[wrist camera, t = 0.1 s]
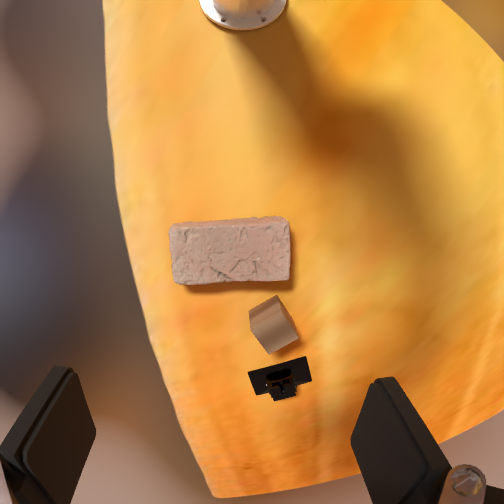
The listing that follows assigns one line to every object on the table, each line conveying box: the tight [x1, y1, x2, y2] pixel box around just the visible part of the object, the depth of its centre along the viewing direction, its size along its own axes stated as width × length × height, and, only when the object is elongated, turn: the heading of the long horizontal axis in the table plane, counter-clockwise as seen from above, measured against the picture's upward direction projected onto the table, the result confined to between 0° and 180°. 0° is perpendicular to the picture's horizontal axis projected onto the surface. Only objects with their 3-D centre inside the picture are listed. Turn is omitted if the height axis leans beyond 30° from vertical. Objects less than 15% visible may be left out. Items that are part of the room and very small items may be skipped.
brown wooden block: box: [249, 295, 299, 354], centre depth 47 cm, size 5×5×6 cm
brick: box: [169, 216, 290, 285], centre depth 44 cm, size 16×8×5 cm, turn 93°
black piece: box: [248, 356, 312, 401], centre depth 51 cm, size 13×8×5 cm, turn 105°
